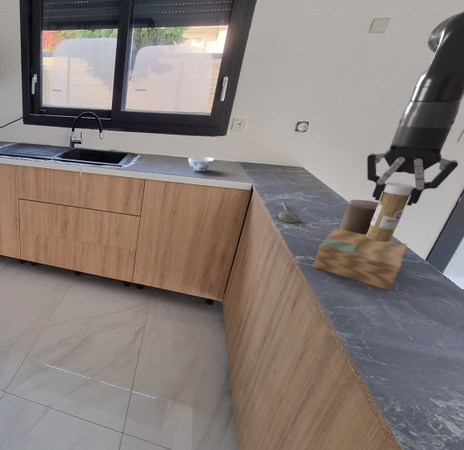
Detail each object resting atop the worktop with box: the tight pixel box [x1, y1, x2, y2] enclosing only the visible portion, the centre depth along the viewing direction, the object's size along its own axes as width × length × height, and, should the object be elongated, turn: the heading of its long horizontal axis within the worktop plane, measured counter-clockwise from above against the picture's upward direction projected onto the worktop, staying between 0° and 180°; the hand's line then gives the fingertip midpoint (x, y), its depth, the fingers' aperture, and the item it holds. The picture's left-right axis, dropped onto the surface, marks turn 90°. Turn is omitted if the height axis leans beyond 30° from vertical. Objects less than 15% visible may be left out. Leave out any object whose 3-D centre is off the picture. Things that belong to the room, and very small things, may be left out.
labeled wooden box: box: [312, 227, 408, 291], centre depth 88 cm, size 16×18×7 cm
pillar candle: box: [338, 199, 380, 235], centre depth 100 cm, size 10×10×15 cm
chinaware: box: [187, 156, 215, 172], centre depth 198 cm, size 15×15×8 cm
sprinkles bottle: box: [366, 182, 415, 242], centre depth 72 cm, size 5×5×13 cm
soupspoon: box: [278, 201, 299, 224], centre depth 128 cm, size 22×3×7 cm
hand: (392, 201), depth 71 cm, fingers closed on sprinkles bottle, 4 cm apart
